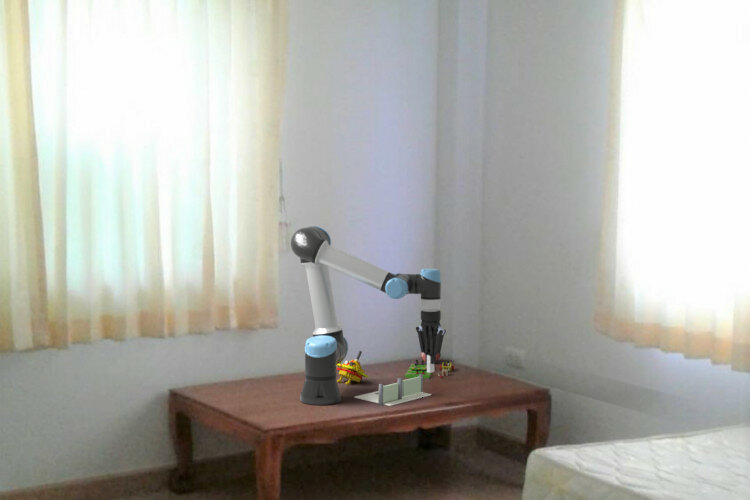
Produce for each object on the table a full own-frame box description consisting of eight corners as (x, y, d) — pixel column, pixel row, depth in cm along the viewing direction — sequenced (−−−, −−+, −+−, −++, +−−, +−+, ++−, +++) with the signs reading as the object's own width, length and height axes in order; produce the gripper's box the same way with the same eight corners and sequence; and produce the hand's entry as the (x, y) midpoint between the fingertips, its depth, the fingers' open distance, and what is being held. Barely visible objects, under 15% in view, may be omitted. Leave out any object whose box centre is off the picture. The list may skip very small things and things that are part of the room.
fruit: (442, 361, 416) (442, 339, 415) (438, 365, 407) (439, 343, 406) (422, 360, 418) (422, 338, 418) (418, 364, 409) (418, 342, 408)
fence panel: (404, 396, 343) (404, 379, 342) (400, 396, 344) (401, 378, 343) (423, 391, 351) (423, 374, 351) (420, 391, 352) (420, 373, 352)
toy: (327, 377, 370) (341, 344, 374) (343, 386, 376) (357, 353, 380) (348, 383, 360) (363, 348, 364) (364, 392, 366) (378, 358, 370)
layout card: (389, 406, 332) (389, 404, 332) (354, 397, 344) (354, 396, 344) (431, 395, 350) (431, 394, 350) (396, 387, 362) (396, 386, 362)
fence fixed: (381, 405, 333) (381, 383, 332) (377, 404, 334) (377, 382, 334) (403, 399, 342) (403, 378, 342) (399, 398, 343) (399, 377, 343)
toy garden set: (411, 367, 404) (411, 357, 403) (454, 369, 401) (454, 359, 400) (405, 378, 381) (405, 368, 381) (450, 380, 378) (451, 370, 378)
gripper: (450, 310, 340) (450, 372, 341) (423, 307, 349) (423, 368, 350) (438, 312, 334) (437, 375, 336) (410, 309, 343) (411, 371, 345)
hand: (430, 371), depth 343 cm, fingers closed
